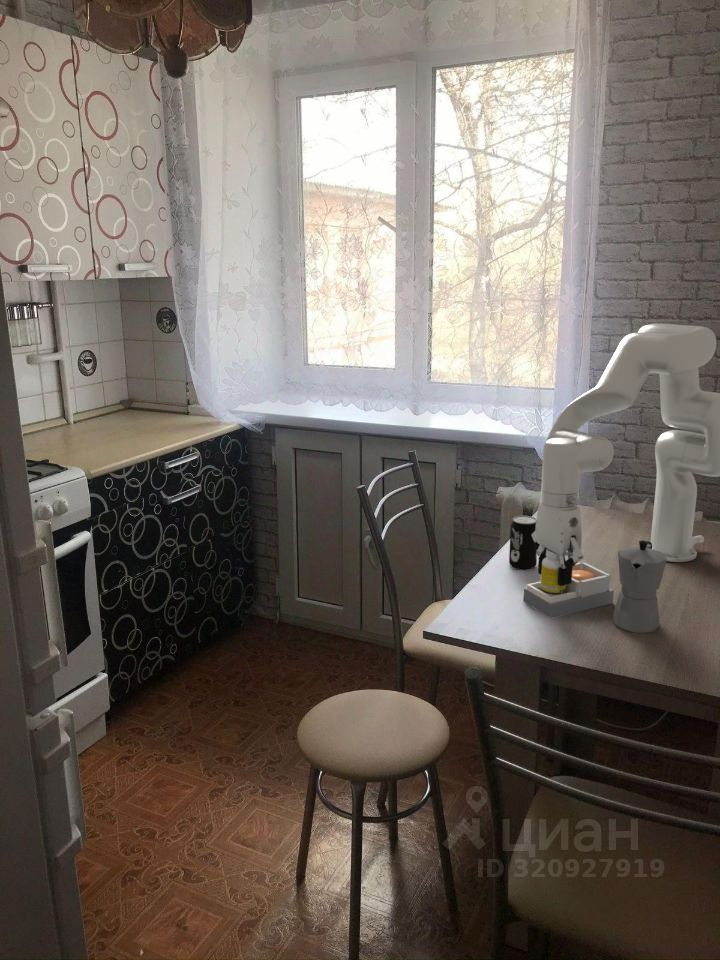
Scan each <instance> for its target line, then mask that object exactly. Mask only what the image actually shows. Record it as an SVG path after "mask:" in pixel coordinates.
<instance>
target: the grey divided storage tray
mask: <svg viewBox="0 0 720 960" xmlns="http://www.w3.org/2000/svg"><path fill="white" fill-rule="evenodd" d="M572 570H583V571H588V572H590V573H592V574H593V575H594V578H591V579H586V580H582V581H580V582H579V581H577V580H576V579H574V578H572V581H571V583H570V584H567V585H566V593H565V594H561V595H557V596H552V597H550V596H549V595H547V594H545V593H543V592H542V591H540V585H541V580H540V581H537V582H532V583H527V584H526V587H524V588H523V598H522V600H523V602H525V603H526V604H527V605H529V606H530V607H533V608H534V609H535V610H537V611H539V612H541V613H542V614H544V615H545V616H547V617H548V618H550V619H554V618H558V617H563V616H567V615H571V614H575V613H579V612H582V611H587V610H591V609H594V608H599V607H603V606H607V605H611V604H613V603H614V594H615V592H614V590H615V589H612V588H611V587H610V583H611V581H610V580H611V574H609V573H607V572H605V571H603V570H601V569H600V568H597V567H596V566H593V565H590V564H589V563H587V562H585V561H584V562H581V563H580V562H578V563H576V564H575V566H574V567H572ZM579 588H580V590H579Z"/></svg>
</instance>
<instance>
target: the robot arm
mask: <svg viewBox="0 0 720 960" xmlns="http://www.w3.org/2000/svg"><path fill="white" fill-rule="evenodd" d="M716 350H717V337H716V334H715V333H714V332H713V330H712V329H710V328H708V327H707V326H700V325H685V324H673V323H650V324H649V323H648V324H645V325H643V326H641V327H640V328H639V329H638V332H632V333H629V334H627V335H625V336H624V337H623V338H622V339H621V341H620V342H619V344H618V346H617V348H616V350H615V352H614V353H613V355H612V357H611V358H610V360H609V363H608V364H607V366H606V368H605V370H604V371H603V374H602V375H601V376H600V379H599V381H598V382H597V384H596V385H595V387H593V388H592V389H589V390H588V391H587V392H584V393H583V394H582V395H580V396H579V397H577V398H576V399H574V400H573V401H572V402H570V403H569V404H568V405H566V407H565V408H563V409H562V411H561V412H560V413H559V414H558V417H557V418H556V420H555V421H554V423H553V425H552V427H551V429H550V431H549V433H548V435H547V438H546V441H545V443H544V445H543V449H542V450H543V451H542V467H541V469H542V470H541V484H540V485H541V489H540V500H539V504H538V508H537V513H536V529H535V531H534V532H533V533H532V538H533V540H534V542H535V546H536V548H537V557H538V560H537V561H538V563H537V564H538V565H537V574H539V575H540V576H541V570H542V561H543V559H544V558H546V549H549V550H551V551H553V552H556V553H558V554H559V558H560V564H561V567H559V569H558V585H560V586H562V585H566V584H570V583H571V581H572V567H574V566H575V564H576V563H579V562H580V561H581V560H582V559H584V554H583V553H582V543H583V541H582V540H583V536H582V535H583V533H582V532H583V527H582V525H583V523H582V517H581V515H582V514H581V509H580V507H579V505H578V504H579V503H580V502H579V491H580V490H579V489H580V477H581V476H580V475H581V473H585V472H588V473H590V472H600V471H601V470H604V469H605V468H607V467H609V465H610V464H611V462H612V461H613V459H614V455H615V449H614V448H615V447H614V446H613V443H612V442H611V441H610V440H609V439H608V438H607V437H604V436H601V435H597V434H592V433H588V432H583V431H579V430H580V428H582V426H584V425H585V424H586V423H588V422H589V421H592V420H593V419H596V418H598V417H601V416H605V415H609V414H612V413H617V412H620V411H623V410H626V409H629V408H630V407H631V406H632V405H633V404H634V402H635V400H636V398H637V397H638V396H639V393H640V391H641V389H642V387H643V386H644V383H645V382H646V380H647V378H648V376H649V375H650V374H657V375H658V376H659V392H660V393H659V394H660V395H659V396H660V416H661V419H662V422H663V423H664V425H666V426H668V427H671V428H675V429H671V430H667V431H665V432H662V433H661V434H660V435H659V436H658V437H657V440H656V443H655V448H654V455H655V457H654V458H655V463H656V464H655V465H656V480H655V482H656V484H655V492H654V502H653V504H654V505H653V512H652V523H651V531H650V534H651V535H650V542H651V543H652V550H656V551H659V552H662V553H663V554H664V555H665V557H666V558H667V561H666V562H671V563H687V562H690V561H693V560H695V559H696V558H697V555H698V552H697V550H696V549H695V548H694V546H696V544H701V543H704V542H705V537H704V536H703V535H702V534H700V535H695V536H693V530H694V522H695V514H696V504H697V503H696V502H697V495H698V486H697V481H696V479H695V477H694V475H693V474H696V475H701V476H707V477H714V478H715V477H716V478H717V477H718V478H719V477H720V393H719V392H713V391H705V390H702V389H701V387H700V378H699V377H700V375H699V374H700V373H699V368H700V367H703V366H705V365H706V364H707V363H708V362H710V360H711V359H712V358H713V356H714V354H715V353H716ZM678 429H679V430H678ZM566 556H567V559H566Z"/></svg>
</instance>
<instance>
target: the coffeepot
mask: <svg viewBox="0 0 720 960" xmlns="http://www.w3.org/2000/svg"><path fill="white" fill-rule="evenodd" d="M638 543H639V546H638V547H636V546H635V547H633V546H627V547H624V548H622V549H619V550H618V551H617V557H618V558H617V559H618V560H617V561H618V572H619V573H618V574H619V582H620V585H621V588H620V589H621V590H620V591H619V593H618V597H617V600H616V604H615V607H614V610H613V614H612V620H613V624H614V625H615V626H616V627H617V628H619V629H621V630H624V631H627V632H630V633H636V634H648V633H653V632H655V631H656V629H658V628H660V616H659V615H660V613H659V603H658V597H657V590H659V589H660V586H661V583H662V579H663V576H664V573H665V568H666V563H667V562H668V561H667V558H666V557H665V555H664V554H663V553H662V552H659V551H656V550H652V543H651V540H650V541H648V540H639V541H638Z"/></svg>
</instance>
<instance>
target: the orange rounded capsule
mask: <svg viewBox="0 0 720 960" xmlns="http://www.w3.org/2000/svg"><path fill="white" fill-rule="evenodd" d="M572 578H574V579H576V580H577V581H579V582H580V581H582V580H586V579H591V578H594V575H593V574H592V573H590V572H588V571H583V570H572ZM579 590H580V588H579Z"/></svg>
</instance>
